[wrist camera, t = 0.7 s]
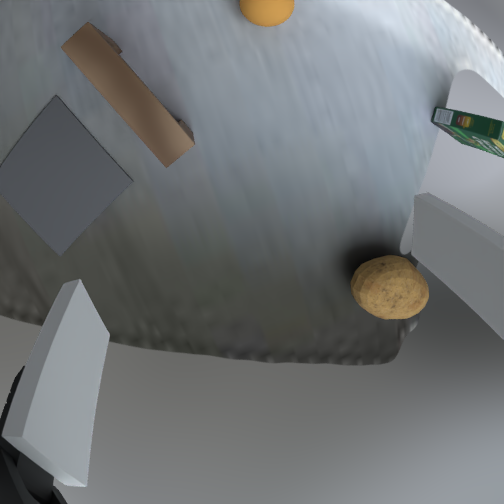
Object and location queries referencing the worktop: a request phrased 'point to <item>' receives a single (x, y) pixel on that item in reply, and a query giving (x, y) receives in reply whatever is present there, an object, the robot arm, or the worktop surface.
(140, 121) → the bridge
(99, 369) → the robot arm
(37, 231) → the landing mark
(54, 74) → the worktop surface
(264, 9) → the ball
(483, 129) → the coffee box
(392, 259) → the potato
